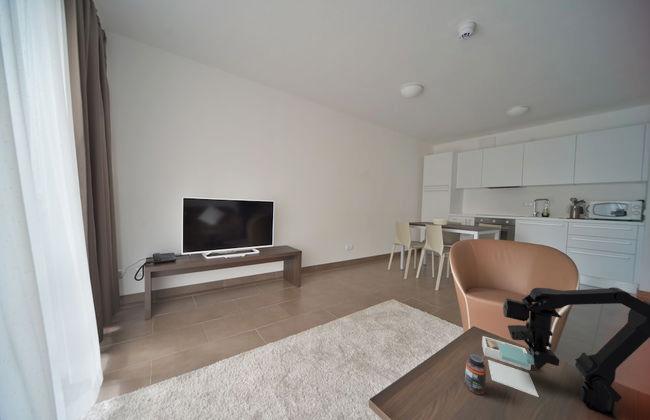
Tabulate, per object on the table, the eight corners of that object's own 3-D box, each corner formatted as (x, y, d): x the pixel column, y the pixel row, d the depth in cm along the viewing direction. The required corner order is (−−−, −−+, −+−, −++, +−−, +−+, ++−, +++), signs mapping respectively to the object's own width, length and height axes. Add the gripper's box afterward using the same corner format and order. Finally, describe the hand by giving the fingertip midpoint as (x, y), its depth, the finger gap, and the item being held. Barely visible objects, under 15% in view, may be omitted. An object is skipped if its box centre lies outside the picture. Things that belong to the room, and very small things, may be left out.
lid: (535, 356, 85) (535, 352, 85) (543, 372, 77) (544, 368, 77) (497, 345, 91) (497, 341, 90) (501, 359, 83) (502, 354, 83)
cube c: (496, 350, 100) (497, 341, 100) (501, 356, 96) (502, 347, 96) (486, 348, 101) (487, 340, 100) (491, 355, 97) (492, 346, 96)
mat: (528, 374, 87) (528, 373, 87) (538, 397, 77) (538, 396, 77) (487, 360, 94) (487, 359, 94) (491, 380, 83) (492, 379, 83)
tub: (523, 357, 97) (525, 348, 96) (530, 371, 89) (531, 361, 89) (481, 344, 104) (482, 336, 104) (484, 355, 96) (485, 347, 96)
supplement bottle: (478, 382, 83) (481, 352, 82) (488, 396, 77) (491, 365, 76) (461, 380, 83) (463, 351, 82) (469, 394, 77) (472, 363, 76)
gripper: (506, 307, 93) (502, 343, 94) (517, 330, 76) (512, 373, 78) (542, 315, 87) (537, 353, 88) (562, 342, 71) (556, 388, 72)
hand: (534, 365), depth 82 cm, fingers closed on lid, 3 cm apart
